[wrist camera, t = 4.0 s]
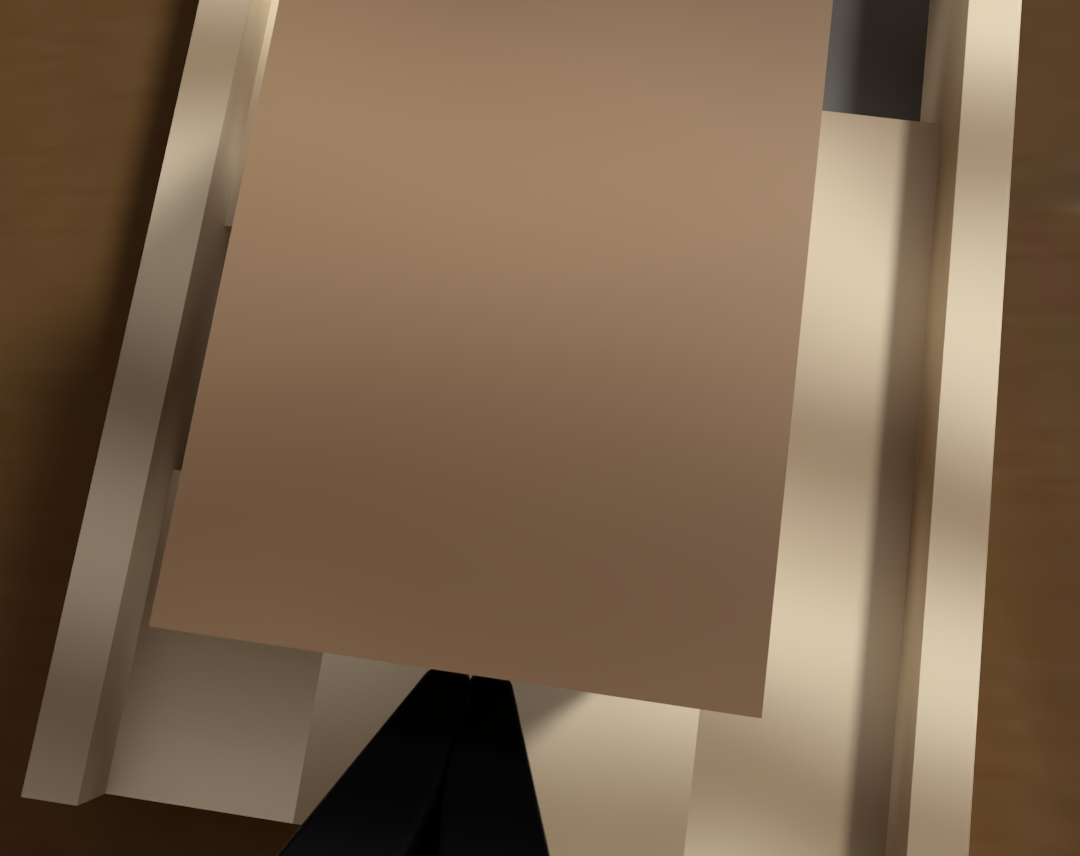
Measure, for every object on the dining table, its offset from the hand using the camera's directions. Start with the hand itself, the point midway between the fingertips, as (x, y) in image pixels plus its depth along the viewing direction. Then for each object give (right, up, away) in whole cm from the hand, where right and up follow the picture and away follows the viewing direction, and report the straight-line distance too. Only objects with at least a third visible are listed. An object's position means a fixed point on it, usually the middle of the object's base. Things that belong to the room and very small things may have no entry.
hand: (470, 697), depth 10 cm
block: (+1, +5, +9) cm, 10 cm away
